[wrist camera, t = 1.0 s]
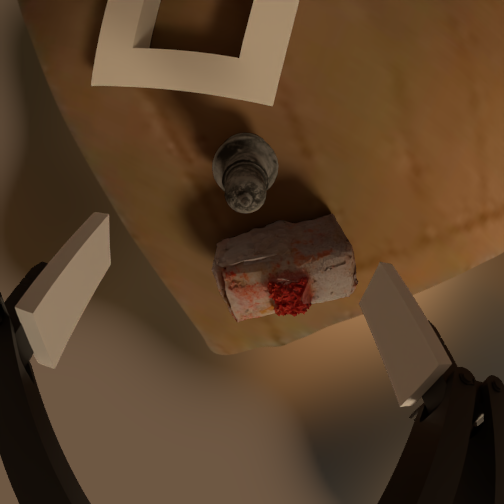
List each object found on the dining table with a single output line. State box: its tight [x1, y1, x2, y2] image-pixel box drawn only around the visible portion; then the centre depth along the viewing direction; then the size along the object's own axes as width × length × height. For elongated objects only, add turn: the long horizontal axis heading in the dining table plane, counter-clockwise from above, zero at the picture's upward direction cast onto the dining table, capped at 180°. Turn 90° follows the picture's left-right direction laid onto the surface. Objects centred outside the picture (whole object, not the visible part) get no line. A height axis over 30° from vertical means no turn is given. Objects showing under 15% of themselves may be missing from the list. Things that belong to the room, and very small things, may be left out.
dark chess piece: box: [212, 133, 278, 213], centre depth 24 cm, size 6×6×12 cm
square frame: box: [91, 0, 299, 106], centre depth 19 cm, size 16×16×4 cm
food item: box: [212, 214, 358, 322], centre depth 30 cm, size 14×8×10 cm, turn 106°
